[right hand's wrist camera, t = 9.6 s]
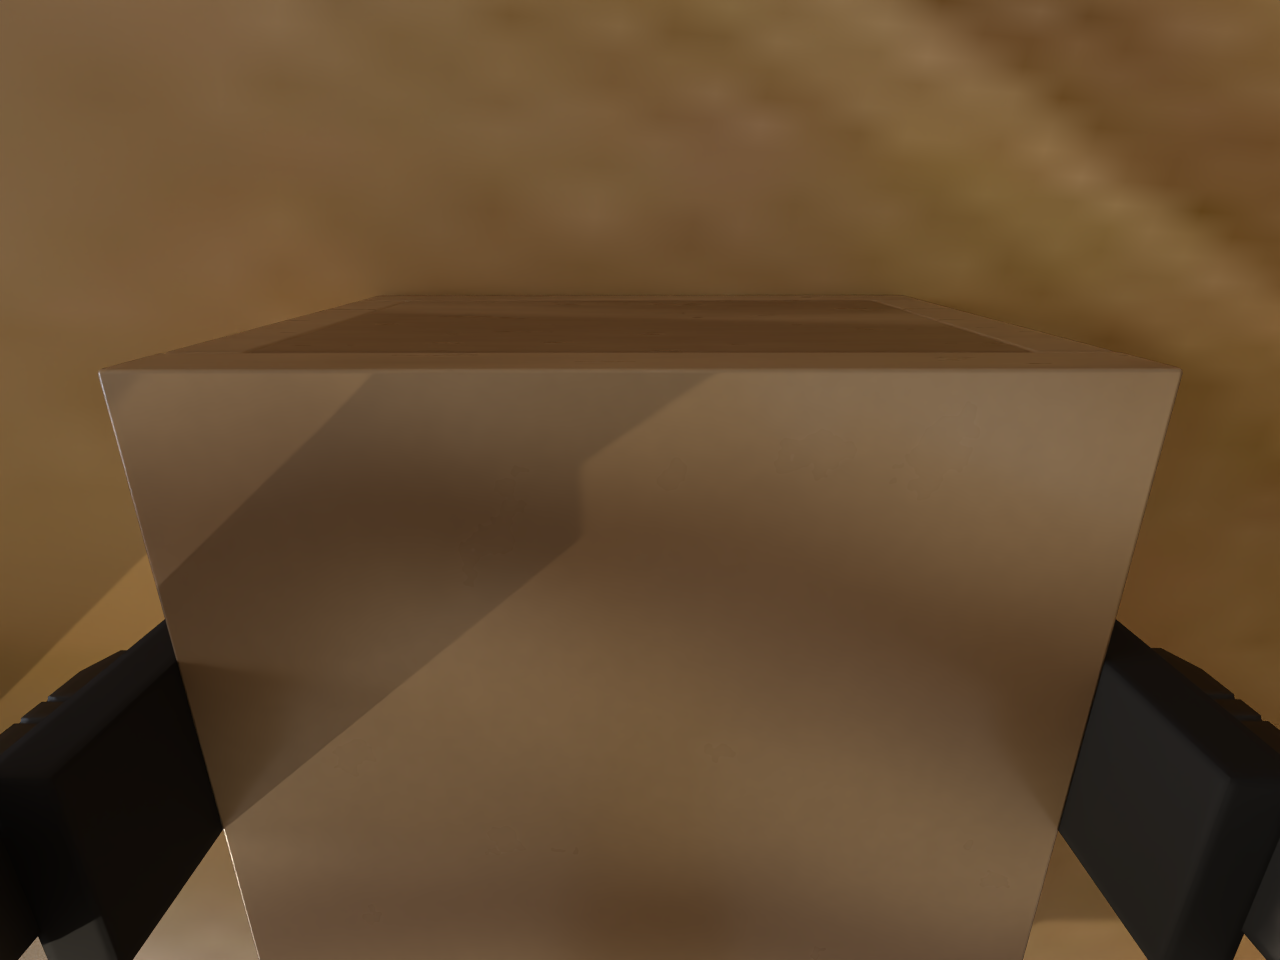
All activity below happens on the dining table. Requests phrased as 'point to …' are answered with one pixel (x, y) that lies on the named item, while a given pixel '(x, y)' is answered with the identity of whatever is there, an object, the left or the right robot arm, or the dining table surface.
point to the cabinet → (640, 617)
